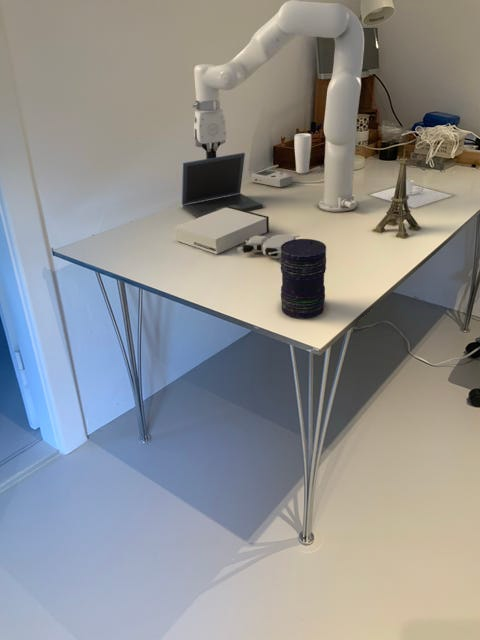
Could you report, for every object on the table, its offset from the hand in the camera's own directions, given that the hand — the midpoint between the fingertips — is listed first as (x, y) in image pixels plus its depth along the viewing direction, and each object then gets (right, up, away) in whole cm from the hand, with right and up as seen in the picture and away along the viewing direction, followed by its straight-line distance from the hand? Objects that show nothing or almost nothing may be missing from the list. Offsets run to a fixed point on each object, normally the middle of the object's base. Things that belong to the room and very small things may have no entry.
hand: (211, 162), depth 186 cm
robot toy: (+18, -36, -34) cm, 53 cm away
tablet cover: (+1, -5, +3) cm, 6 cm away
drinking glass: (+36, +7, +38) cm, 53 cm away
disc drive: (+5, -29, -21) cm, 36 cm away
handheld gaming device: (+23, 0, +27) cm, 35 cm away
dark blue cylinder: (+24, -52, -63) cm, 85 cm away
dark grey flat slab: (+3, -15, +3) cm, 16 cm away
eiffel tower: (+57, -27, -23) cm, 67 cm away
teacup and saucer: (+70, -10, +5) cm, 71 cm away
